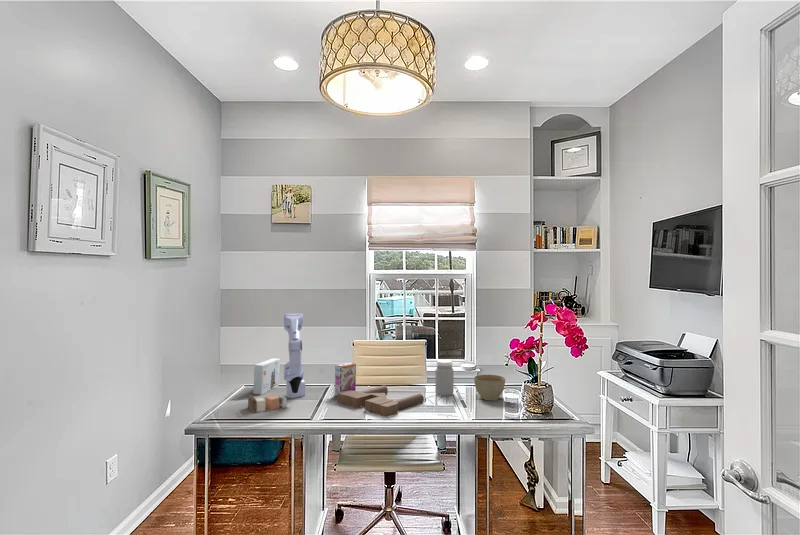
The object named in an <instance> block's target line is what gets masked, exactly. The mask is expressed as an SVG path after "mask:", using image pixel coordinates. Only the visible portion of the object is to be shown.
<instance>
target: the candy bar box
mask: <svg viewBox="0 0 800 535" xmlns="http://www.w3.org/2000/svg"><path fill="white" fill-rule="evenodd" d="M334 368H335V369H334V396H335V397H337V393H340V392H345V391H356V381H357V380H356V376H357V370H356V369H357V363H354V362H347V363H341V364H340V363H339V364H335V365H334Z"/></svg>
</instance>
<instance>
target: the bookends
mask: <svg viewBox="0 0 800 535" xmlns="http://www.w3.org/2000/svg"><path fill="white" fill-rule="evenodd" d="M388 392H389V390H388V387H387V386H386V385H384V384H383V385H381V386H376V387H373V388H372V387H371V388H368V389H365V390H360V391H359V390H358V391H357V390H355V391H345V392H340V393H337V396H336V397H337V398H336V401H337V402H336V403H338V404H340V405H345V406H349V407H352V408H355V409H358V408H362V407H364V411H365V412H369V413H372V414H376V415H379V416H381V417H385V418H389V417H393V416H396V415H398V413H399V411H402V410H404V409H408V408H410V407H413V406H417V405H420V404H423V403H424V401H425V398H424V395H423V394H421V393H417V394H414V395H410V396H406V397H403V398H400V399H396V400H393V399H391V398H390V399H389V398H387V397H386V395H387V394H388Z"/></svg>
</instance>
